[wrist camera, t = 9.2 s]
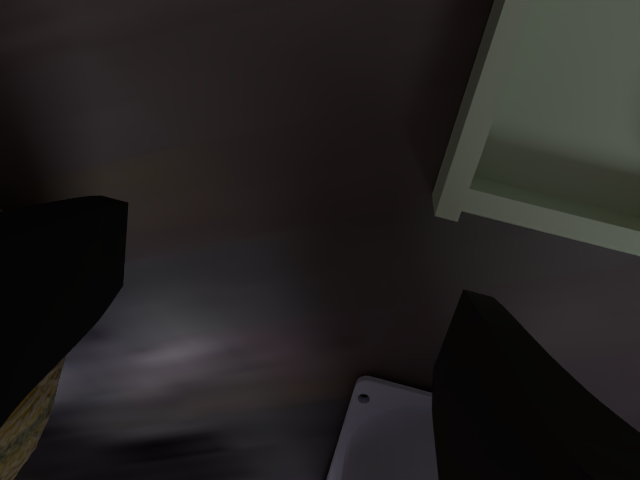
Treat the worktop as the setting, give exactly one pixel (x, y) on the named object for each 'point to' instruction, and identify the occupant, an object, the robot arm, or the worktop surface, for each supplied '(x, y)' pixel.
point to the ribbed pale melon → (27, 424)
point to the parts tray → (551, 123)
